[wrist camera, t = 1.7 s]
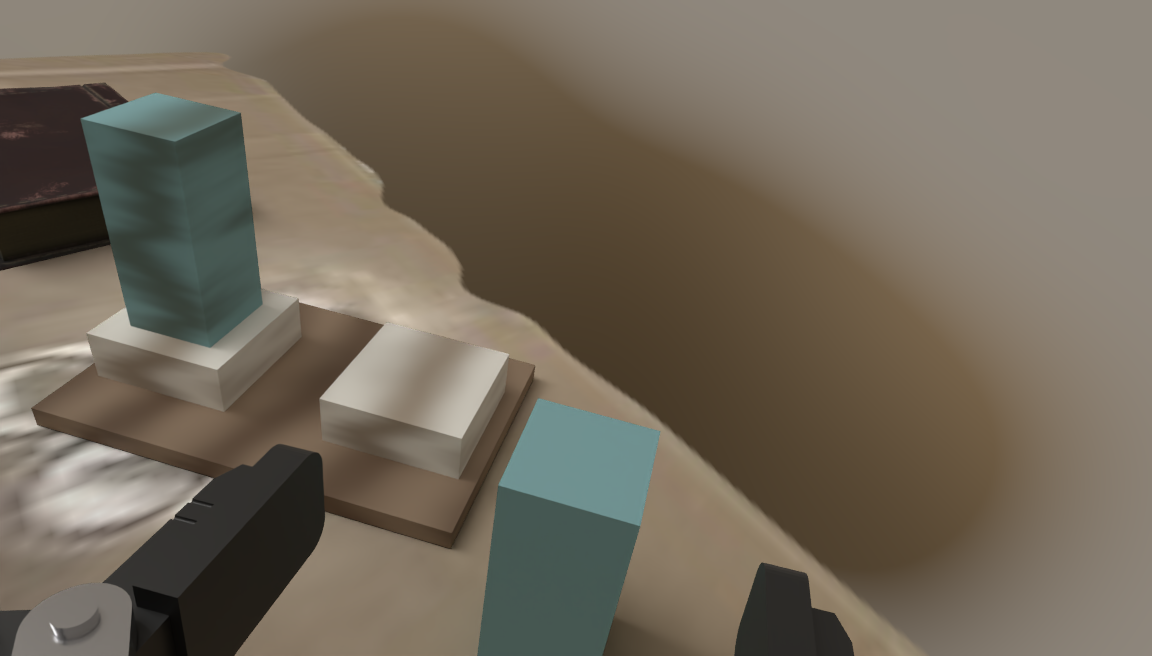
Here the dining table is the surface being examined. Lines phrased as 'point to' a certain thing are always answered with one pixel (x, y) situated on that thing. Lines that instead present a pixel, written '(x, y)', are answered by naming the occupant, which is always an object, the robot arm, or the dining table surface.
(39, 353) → the dining table surface
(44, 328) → the dining table surface
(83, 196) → the diary
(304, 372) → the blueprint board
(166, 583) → the robot arm
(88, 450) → the dining table surface
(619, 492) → the teal pillar
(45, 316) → the dining table surface
